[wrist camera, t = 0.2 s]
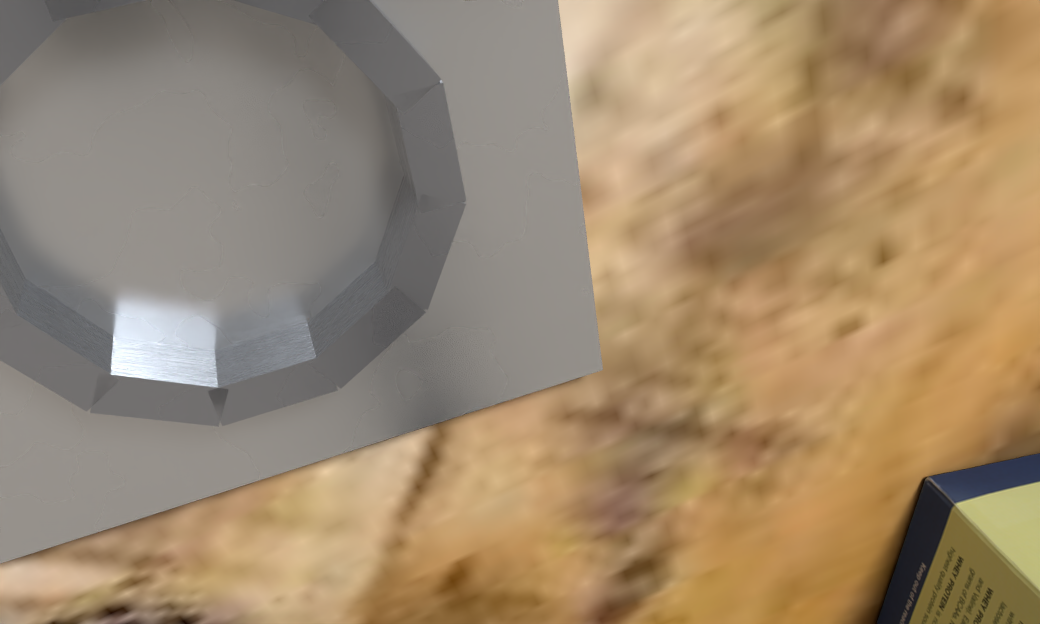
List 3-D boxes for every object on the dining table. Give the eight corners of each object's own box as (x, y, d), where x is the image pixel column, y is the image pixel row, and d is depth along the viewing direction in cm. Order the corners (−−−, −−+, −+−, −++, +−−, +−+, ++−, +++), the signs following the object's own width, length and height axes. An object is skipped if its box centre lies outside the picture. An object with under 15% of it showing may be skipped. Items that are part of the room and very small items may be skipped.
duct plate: (591, 354, 26) (624, 402, 25) (-19, 547, 24) (-35, 619, 22) (501, -349, 18) (543, -357, 16) (-499, -176, 15) (-594, -160, 13)
